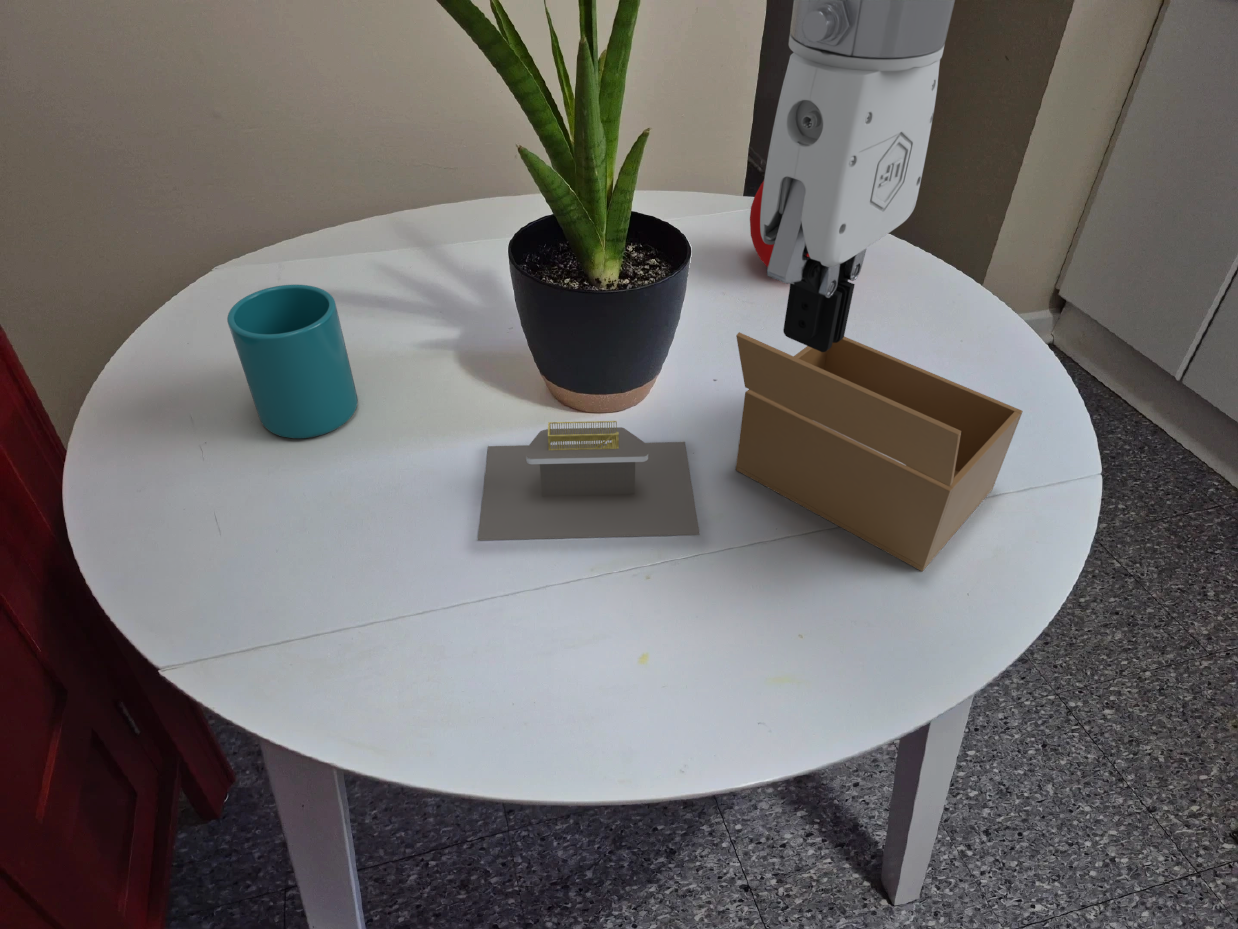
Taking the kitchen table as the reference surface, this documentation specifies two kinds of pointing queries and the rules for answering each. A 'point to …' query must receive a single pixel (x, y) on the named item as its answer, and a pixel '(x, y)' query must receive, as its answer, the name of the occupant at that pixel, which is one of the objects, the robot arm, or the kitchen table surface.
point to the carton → (879, 455)
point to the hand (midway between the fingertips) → (812, 337)
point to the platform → (587, 487)
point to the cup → (294, 359)
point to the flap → (851, 409)
